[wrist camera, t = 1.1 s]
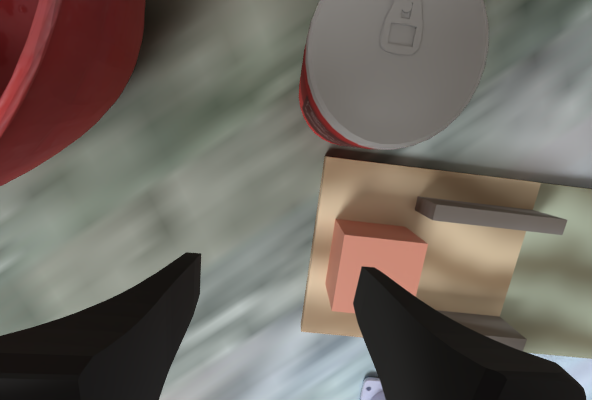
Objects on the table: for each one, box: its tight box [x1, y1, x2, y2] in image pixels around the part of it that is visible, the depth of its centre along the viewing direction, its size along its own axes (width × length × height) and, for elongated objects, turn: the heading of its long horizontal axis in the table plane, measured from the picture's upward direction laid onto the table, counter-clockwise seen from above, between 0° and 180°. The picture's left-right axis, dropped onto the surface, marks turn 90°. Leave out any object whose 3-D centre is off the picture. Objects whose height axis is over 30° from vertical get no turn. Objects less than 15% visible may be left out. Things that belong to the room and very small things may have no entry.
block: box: [325, 219, 428, 313], centre depth 22 cm, size 6×6×4 cm
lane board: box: [301, 156, 592, 359], centre depth 23 cm, size 16×30×4 cm, turn 83°
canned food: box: [299, 0, 489, 150], centre depth 17 cm, size 8×8×11 cm
